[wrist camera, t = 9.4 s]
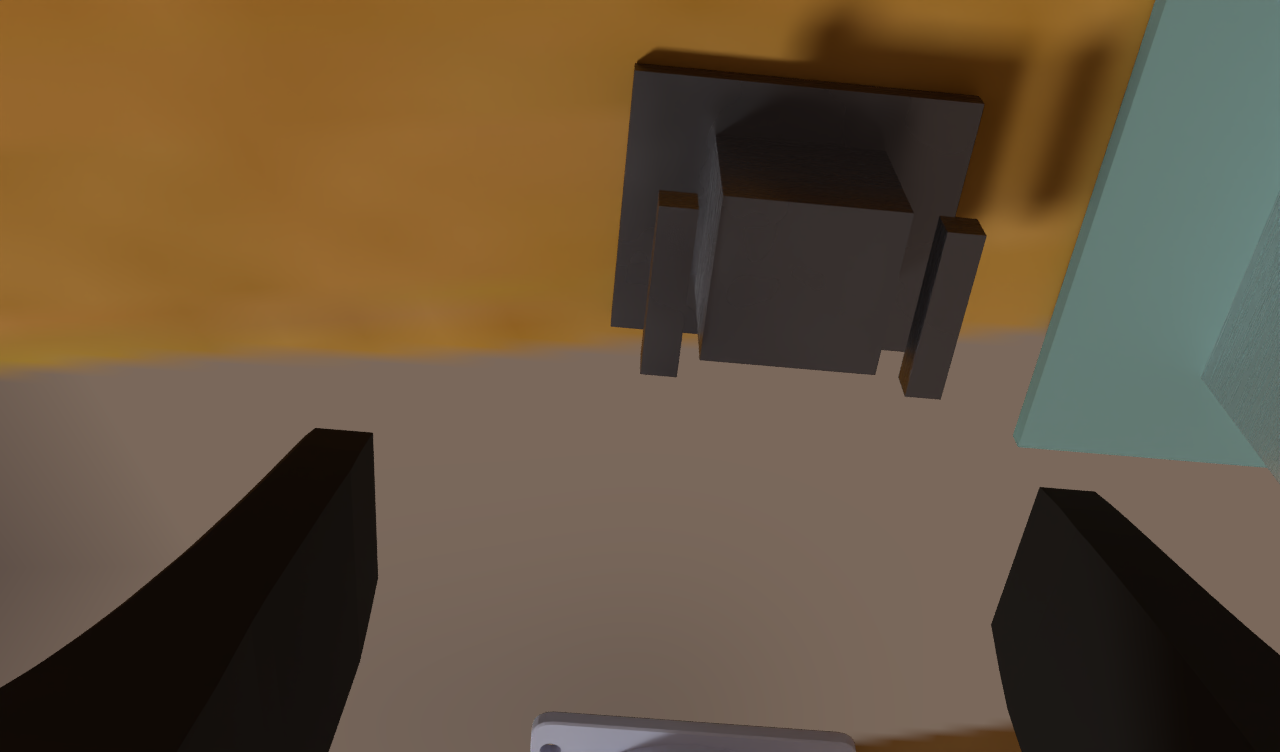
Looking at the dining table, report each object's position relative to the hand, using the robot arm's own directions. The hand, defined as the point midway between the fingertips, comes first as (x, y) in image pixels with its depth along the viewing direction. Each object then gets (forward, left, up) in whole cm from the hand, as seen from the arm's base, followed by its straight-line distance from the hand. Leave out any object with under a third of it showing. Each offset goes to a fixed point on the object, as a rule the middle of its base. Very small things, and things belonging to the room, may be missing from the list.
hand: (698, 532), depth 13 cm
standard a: (0, -2, -10) cm, 10 cm away
